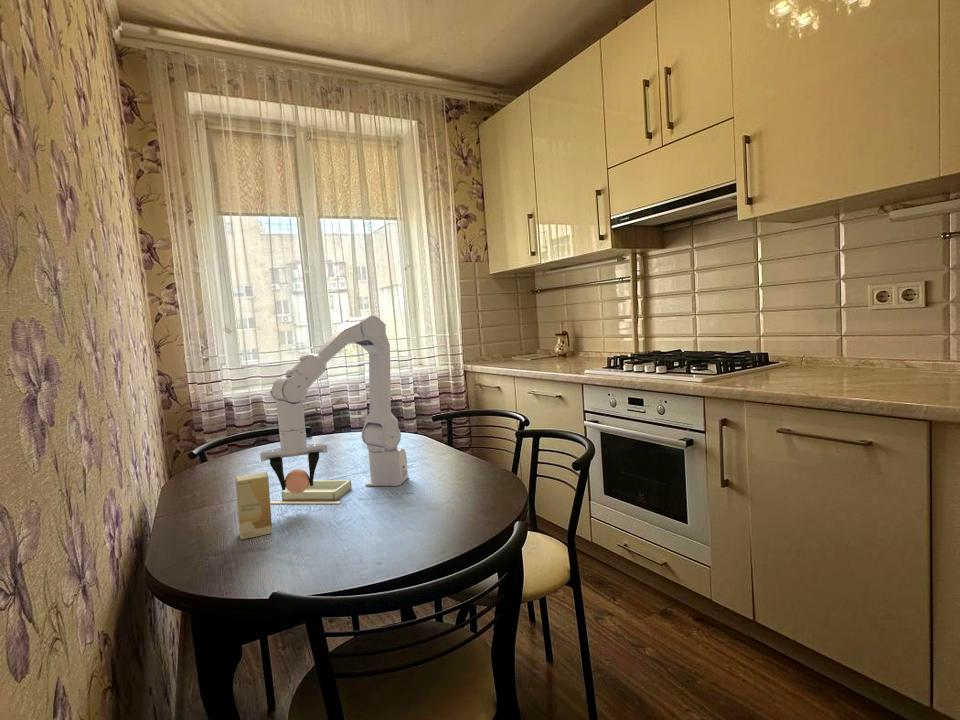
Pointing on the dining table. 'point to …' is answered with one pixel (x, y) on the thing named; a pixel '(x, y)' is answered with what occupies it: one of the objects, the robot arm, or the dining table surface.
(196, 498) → the dining table surface
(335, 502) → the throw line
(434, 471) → the dining table surface
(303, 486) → the ball
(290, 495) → the tray
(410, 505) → the dining table surface
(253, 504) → the skincare box
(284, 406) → the robot arm
